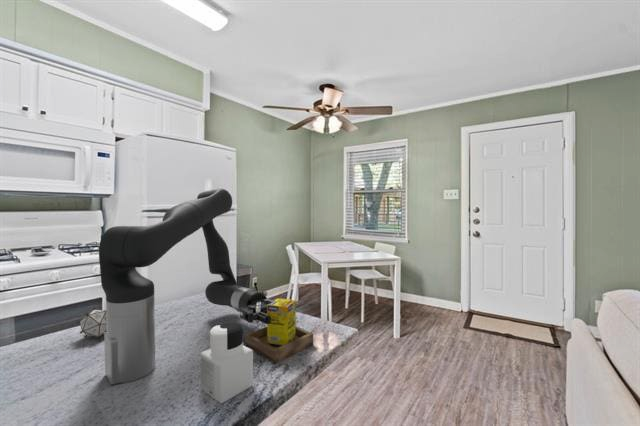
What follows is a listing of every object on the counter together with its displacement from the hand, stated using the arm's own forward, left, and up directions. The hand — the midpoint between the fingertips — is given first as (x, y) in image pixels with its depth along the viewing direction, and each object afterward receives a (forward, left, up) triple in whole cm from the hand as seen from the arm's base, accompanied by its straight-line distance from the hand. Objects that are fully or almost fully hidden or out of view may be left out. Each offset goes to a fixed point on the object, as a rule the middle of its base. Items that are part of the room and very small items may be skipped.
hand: (282, 315), depth 78 cm
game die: (-33, +44, -9) cm, 56 cm away
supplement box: (0, 0, -8) cm, 8 cm away
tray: (0, +1, -8) cm, 9 cm away
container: (-19, -5, -9) cm, 22 cm away
